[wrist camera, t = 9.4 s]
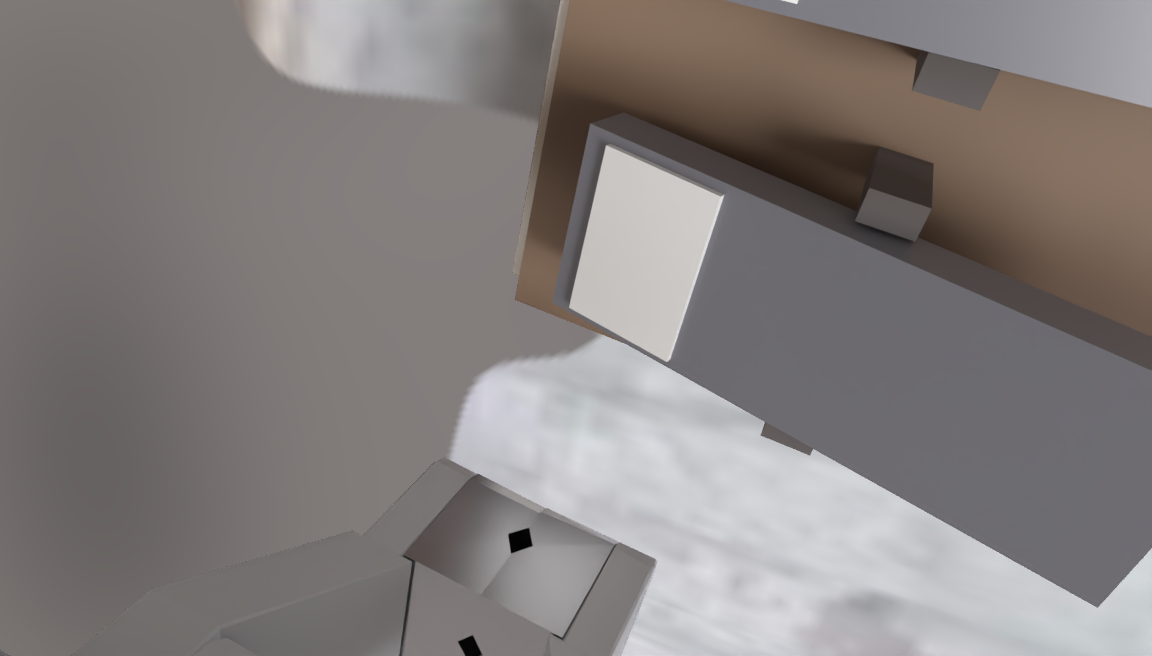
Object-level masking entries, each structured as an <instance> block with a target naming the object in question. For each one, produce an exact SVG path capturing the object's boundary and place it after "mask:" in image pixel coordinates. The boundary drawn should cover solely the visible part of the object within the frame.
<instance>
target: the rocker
mask: <svg viewBox="0 0 1152 656" xmlns="http://www.w3.org/2000/svg"><path fill="white" fill-rule="evenodd" d="M856 215H857V211H855V210H852V209H850V208H848V207H845V206H843V205H841V204H838V203H836V202H834V201H831V200H829V199H827V198H824V197H822V196H820V195H817V194H815V193H812V192H810V191H808V190H805V189H803V188H801V187H798V186H796V185H794V184H791V183H789V182H787V181H784V180H782V179H780V178H777V177H775V176H772V175H770V174H768V173H765V172H763V171H761V170H758V169H756V168H754V167H751V166H749V165H747V164H744V163H742V162H740V161H737V160H735V159H732V158H730V157H728V156H725V155H723V154H721V153H718V152H716V151H714V150H711V149H709V148H707V147H704V146H702V145H700V144H697V143H695V142H693V141H690V140H688V139H685V138H683V137H681V136H678V135H676V134H674V133H671V132H669V131H667V130H664V129H662V128H660V127H657V126H655V125H653V124H650V123H648V122H645V121H643V120H641V119H638V118H636V117H634V116H631V115H629V114H627V113H621V114H618V115H615V116H612V117H609V118H606V119H603V120H599V121H596V122H593V123H590V127H589V132H588V137H587V141H586V146H585V151H584V155H583V160H582V165H581V169H580V174H579V179H578V184H577V188H576V193H575V198H574V202H573V207H572V212H571V216H570V221H569V226H568V230H567V235H566V240H565V244H564V249H563V254H562V258H561V263H560V268H559V272H558V277H557V282H556V286H555V291H554V296H553V300H552V303H554V304H556V305H557V306H559V307H561V308H563V309H565V310H566V311H568V312H570V313H572V314H573V315H575V316H577V317H579V318H581V319H582V320H584V321H586V322H588V323H590V324H591V325H593V326H595V327H597V328H599V329H600V330H602V331H604V332H606V333H607V334H609V335H611V336H613V337H615V338H616V339H618V340H620V341H622V342H624V343H625V344H627V345H629V346H631V347H632V348H634V349H636V350H638V351H640V352H641V353H643V354H645V355H647V356H649V357H650V358H652V359H654V360H656V361H657V362H659V363H661V364H663V365H665V366H666V367H668V368H670V369H672V370H674V371H675V372H677V373H679V374H681V375H683V376H684V377H686V378H688V379H690V380H691V381H693V382H695V383H697V384H699V385H700V386H702V387H704V388H706V389H708V390H709V391H711V392H713V393H715V394H716V395H718V396H720V397H722V398H724V399H725V400H727V401H729V402H731V403H733V404H734V405H736V406H738V407H740V408H742V409H743V410H745V411H747V412H749V413H750V414H752V415H754V416H756V417H758V418H759V419H761V420H763V421H765V422H767V423H768V424H770V425H772V426H774V427H775V428H777V429H779V430H781V431H783V432H784V433H786V434H788V435H790V436H792V437H793V438H795V439H797V440H799V441H801V442H802V443H804V444H806V445H808V446H809V447H811V448H813V449H815V450H817V451H818V452H820V453H822V454H824V455H826V456H827V457H829V458H831V459H833V460H834V461H836V462H838V463H840V464H842V465H843V466H845V467H847V468H849V469H851V470H852V471H854V472H856V473H858V474H859V475H861V476H863V477H865V478H867V479H868V480H870V481H872V482H874V483H876V484H877V485H879V486H881V487H883V488H885V489H886V490H888V491H890V492H892V493H893V494H895V495H897V496H899V497H901V498H902V499H904V500H906V501H908V502H910V503H911V504H913V505H915V506H917V507H918V508H920V509H922V510H924V511H926V512H927V513H929V514H931V515H933V516H935V517H936V518H938V519H940V520H942V521H944V522H945V523H947V524H949V525H951V526H952V527H954V528H956V529H958V530H960V531H961V532H963V533H965V534H967V535H969V536H970V537H972V538H974V539H976V540H977V541H979V542H981V543H983V544H985V545H986V546H988V547H990V548H992V549H994V550H995V551H997V552H999V553H1001V554H1003V555H1004V556H1006V557H1008V558H1010V559H1011V560H1013V561H1015V562H1017V563H1019V564H1020V565H1022V566H1024V567H1026V568H1028V569H1029V570H1031V571H1033V572H1035V573H1036V574H1038V575H1040V576H1042V577H1044V578H1045V579H1047V580H1049V581H1051V582H1053V583H1054V584H1056V585H1058V586H1060V587H1061V588H1063V589H1065V590H1067V591H1069V592H1070V593H1072V594H1074V595H1076V596H1078V597H1079V598H1081V599H1083V600H1085V601H1087V602H1088V603H1090V604H1092V605H1094V606H1095V607H1097V608H1098V607H1099V606H1100V604H1101V603H1102V602H1103V601H1104V600H1105V599H1106V598H1107V597H1108V596H1109V595H1110V593H1111V592H1112V591H1113V590H1114V589H1115V588H1116V587H1117V586H1118V585H1119V584H1120V582H1121V581H1122V580H1123V579H1124V578H1125V577H1126V576H1127V575H1128V574H1129V572H1130V571H1131V570H1132V569H1133V568H1134V567H1135V566H1136V565H1137V564H1138V563H1139V561H1140V560H1141V559H1142V558H1143V557H1144V556H1145V555H1146V554H1147V553H1148V552H1149V550H1150V549H1151V548H1152V337H1151V336H1149V335H1146V334H1144V333H1142V332H1139V331H1137V330H1135V329H1132V328H1130V327H1128V326H1125V325H1123V324H1121V323H1118V322H1116V321H1113V320H1111V319H1109V318H1106V317H1104V316H1102V315H1099V314H1097V313H1095V312H1092V311H1090V310H1088V309H1085V308H1083V307H1081V306H1078V305H1076V304H1074V303H1071V302H1069V301H1066V300H1064V299H1062V298H1059V297H1057V296H1055V295H1052V294H1050V293H1048V292H1045V291H1043V290H1041V289H1038V288H1036V287H1034V286H1031V285H1029V284H1026V283H1024V282H1022V281H1019V280H1017V279H1015V278H1012V277H1010V276H1008V275H1005V274H1003V273H1001V272H998V271H996V270H994V269H991V268H989V267H986V266H984V265H982V264H979V263H977V262H975V261H972V260H970V259H968V258H965V257H963V256H961V255H958V254H956V253H954V252H951V251H949V250H947V249H944V248H942V247H939V246H937V245H935V244H932V243H930V242H928V241H925V240H923V239H921V238H917V240H916V242H915V241H912V240H909V239H906V238H903V237H900V236H897V235H894V234H891V233H889V232H886V231H883V230H880V229H877V228H874V227H871V226H868V225H865V224H862V223H859V222H856V221H855V219H856Z"/></svg>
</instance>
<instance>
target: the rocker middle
mask: <svg viewBox="0 0 1152 656" xmlns="http://www.w3.org/2000/svg"><path fill="white" fill-rule="evenodd" d="M725 1H729V2H733V3H737V4H741V5H745V6H749V7H753V8H757V9H761V10H765V11H769V12H773V13H777V14H781V15H785V16H789V17H793V18H797V19H801V20H805V21H809V22H813V23H817V24H821V25H825V26H829V27H832V28H836V29H840V30H844V31H848V32H852V33H856V34H860V35H864V36H868V37H872V38H876V39H880V40H884V41H888V42H892V43H896V44H900V45H904V46H908V47H912V48H916V49H920V50H924V51H928V52H932V53H936V54H940V55H944V56H948V57H952V58H956V59H960V60H964V61H968V62H972V63H976V64H980V65H984V66H988V67H992V68H995V69H999V70H1003V71H1007V72H1011V73H1015V74H1019V75H1023V76H1027V77H1031V78H1035V79H1039V80H1043V81H1047V82H1051V83H1055V84H1059V85H1063V86H1067V87H1071V88H1075V89H1079V90H1083V91H1087V92H1091V93H1095V94H1099V95H1103V96H1107V97H1111V98H1115V99H1119V100H1123V101H1127V102H1131V103H1135V104H1139V105H1143V106H1147V107H1151V108H1152V0H725Z"/></svg>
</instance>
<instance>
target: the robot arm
mask: <svg viewBox="0 0 1152 656" xmlns="http://www.w3.org/2000/svg"><path fill="white" fill-rule="evenodd" d="M656 564H657V561H656V559H654V558H652V557H650V556H648V555H645V554H643V553H641V552H639V551H637V550H635V549H633V548H631V547H628V546H626V545H624V544H622V543H620V542H618V541H616V540H614V539H612V538H609V537H607V536H605V535H603V534H601V533H599V532H597V531H595V530H592V529H590V528H588V527H586V526H584V525H582V524H580V523H577V522H575V521H573V520H571V519H569V518H567V517H565V516H563V515H560V514H558V513H556V512H554V511H552V510H550V509H548V508H547V509H546V508H544V507H542V506H540V505H538V504H536V503H534V502H532V501H530V500H528V499H526V498H524V497H522V496H520V495H519V494H517V493H515V492H513V491H511V490H509V489H507V488H505V487H503V486H501V485H499V484H497V483H495V482H493V481H491V480H489V479H487V478H485V477H483V476H482V475H480V474H476V473H474V472H472V471H470V470H468V469H466V468H464V467H462V466H460V465H459V464H457V463H455V462H453V461H451V460H449V459H447V458H445V457H444V458H442V459H440V460H438V461H436V462H434V463H433V464H432V465H431V466H430V467H429V468H428V469H427V470H426V471H425V472H424V473H423V474H422V475H421V476H420V477H419V478H418V479H417V480H416V481H415V482H414V483H413V484H412V485H411V486H410V487H409V488H408V489H407V490H406V491H405V492H404V493H403V494H402V496H400V498H399V499H398V500H397V501H396V502H395V503H394V504H393V505H392V506H391V507H390V508H389V509H388V510H387V511H386V512H385V513H384V514H383V515H382V516H381V517H380V518H379V519H378V520H377V521H376V522H375V523H374V524H373V525H372V526H371V527H370V528H369V529H368V530H367V532H365V533H364V534H363V535H361V534H359V533H357V532H355V531H349V532H345V533H342V534H339V535H335V536H332V537H328V538H325V539H321V540H318V541H314V542H311V543H307V544H304V545H301V546H297V547H294V548H290V549H287V550H284V551H280V552H277V553H273V554H270V555H266V556H263V557H259V558H256V559H252V560H249V561H245V562H242V563H239V564H235V565H232V566H228V567H225V568H221V569H218V570H214V571H211V572H208V573H204V574H201V575H197V576H194V577H190V578H187V579H183V580H180V581H177V582H174V583H170V584H167V585H163V586H159V587H156V588H153V589H151V590H150V591H149V592H148V593H146V594H145V595H144V596H143V597H141V598H140V599H139V600H138V601H137V602H135V603H134V604H133V605H132V606H131V607H129V608H128V609H127V610H126V611H124V612H123V613H122V614H121V615H119V616H118V617H117V618H116V619H115V620H113V621H112V622H111V623H110V624H109V625H107V626H106V627H105V628H104V629H103V630H101V631H100V632H99V633H98V634H96V635H95V636H94V637H93V638H92V639H90V640H89V641H88V642H87V643H86V644H84V645H83V646H82V647H81V648H80V649H78V650H77V651H76V652H75V653H74V654H72V655H71V656H621V654H622V652H623V649H624V647H625V645H626V642H627V640H628V637H629V635H630V632H631V630H632V627H633V625H634V622H635V620H636V617H637V614H638V612H639V609H640V607H641V604H642V601H643V599H644V596H645V594H646V591H647V588H648V586H649V583H650V581H651V578H652V575H653V573H654V570H655V567H656ZM0 656H9V655H8V654H6V653H4V652H3V651H1V650H0Z"/></svg>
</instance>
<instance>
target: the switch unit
mask: <svg viewBox="0 0 1152 656" xmlns="http://www.w3.org/2000/svg"><path fill="white" fill-rule="evenodd" d="M621 113H627V114H629V115H631V116H634V117H636V118H638V119H641V120H643V121H645V122H648V123H650V124H653V125H655V126H657V127H660V128H662V129H664V130H667V131H669V132H671V133H674V134H676V135H678V136H681V137H683V138H685V139H688V140H690V141H693V142H695V143H697V144H700V145H702V146H704V147H707V148H709V149H711V150H714V151H716V152H718V153H721V154H723V155H725V156H728V157H730V158H732V159H735V160H737V161H740V162H742V163H744V164H747V165H749V166H751V167H754V168H756V169H758V170H761V171H763V172H765V173H768V174H770V175H772V176H775V177H777V178H780V179H782V180H784V181H787V182H789V183H791V184H794V185H796V186H798V187H801V188H803V189H805V190H808V191H810V192H812V193H815V194H817V195H820V196H822V197H824V198H827V199H829V200H831V201H834V202H836V203H838V204H841V205H843V206H845V207H848V208H850V209H852V210H855V211H857V215H856V219H855V221H856V222H859V223H862V224H865V225H868V226H871V227H874V228H877V229H880V230H883V231H886V232H889V233H891V234H894V235H897V236H900V237H903V238H906V239H909V240H912V241H915V242H916V240H917V238H921V239H923V240H925V241H928V242H930V243H932V244H935V245H937V246H939V247H942V248H944V249H947V250H949V251H951V252H954V253H956V254H958V255H961V256H963V257H965V258H968V259H970V260H972V261H975V262H977V263H979V264H982V265H984V266H986V267H989V268H991V269H994V270H996V271H998V272H1001V273H1003V274H1005V275H1008V276H1010V277H1012V278H1015V279H1017V280H1019V281H1022V282H1024V283H1026V284H1029V285H1031V286H1034V287H1036V288H1038V289H1041V290H1043V291H1045V292H1048V293H1050V294H1052V295H1055V296H1057V297H1059V298H1062V299H1064V300H1066V301H1069V302H1071V303H1074V304H1076V305H1078V306H1081V307H1083V308H1085V309H1088V310H1090V311H1092V312H1095V313H1097V314H1099V315H1102V316H1104V317H1106V318H1109V319H1111V320H1113V321H1116V322H1118V323H1121V324H1123V325H1125V326H1128V327H1130V328H1132V329H1135V330H1137V331H1139V332H1142V333H1144V334H1146V335H1149V336H1151V337H1152V108H1151V107H1147V106H1143V105H1139V104H1135V103H1131V102H1127V101H1123V100H1119V99H1115V98H1111V97H1107V96H1103V95H1099V94H1095V93H1091V92H1087V91H1083V90H1079V89H1075V88H1071V87H1067V86H1063V85H1059V84H1055V83H1051V82H1047V81H1043V80H1039V79H1035V78H1031V77H1027V76H1023V75H1019V74H1015V73H1011V72H1007V71H1003V70H999V69H995V68H992V67H988V66H984V65H980V64H976V63H972V62H968V61H964V60H960V59H956V58H952V57H948V56H944V55H940V54H936V53H932V52H928V51H924V50H920V49H916V48H912V47H908V46H904V45H900V44H896V43H892V42H888V41H884V40H880V39H876V38H872V37H868V36H864V35H860V34H856V33H852V32H848V31H844V30H840V29H836V28H832V27H829V26H825V25H821V24H817V23H813V22H809V21H805V20H801V19H797V18H793V17H789V16H785V15H781V14H777V13H773V12H769V11H765V10H761V9H757V8H753V7H749V6H745V5H741V4H737V3H733V2H729V1H725V0H560V5H559V11H558V17H557V22H556V28H555V34H554V39H553V45H552V51H551V56H550V62H549V68H548V73H547V79H546V85H545V90H544V96H543V102H542V108H541V113H540V119H539V125H538V130H537V136H536V142H535V147H534V153H533V159H532V164H531V171H530V176H529V182H528V187H527V193H526V199H525V204H524V210H523V215H522V221H521V227H520V233H519V238H518V245H517V250H516V255H515V261H514V267H513V273H514V274H516V275H519V280H518V285H517V291H516V296H515V300H517V301H520V302H522V303H525V304H527V305H530V306H532V307H535V308H537V309H540V310H543V311H545V312H547V313H550V314H552V315H555V316H557V317H560V318H562V319H565V320H567V321H570V322H572V323H575V324H577V325H580V326H582V327H585V328H587V329H590V330H592V331H595V332H597V333H600V334H602V335H605V336H607V337H610V338H612V339H615V340H617V341H620V340H618V339H616V338H615V337H613V336H611V335H609V334H607V333H606V332H604V331H602V330H600V329H599V328H597V327H595V326H593V325H591V324H590V323H588V322H586V321H584V320H582V319H581V318H579V317H577V316H575V315H573V314H572V313H570V312H568V311H566V310H565V309H563V308H561V307H559V306H557V305H556V304H554V303H552V300H553V296H554V291H555V286H556V282H557V277H558V272H559V268H560V263H561V258H562V254H563V249H564V244H565V240H566V235H567V230H568V226H569V221H570V216H571V212H572V207H573V202H574V198H575V193H576V188H577V184H578V179H579V174H580V169H581V165H582V160H583V155H584V151H585V146H586V141H587V137H588V132H589V127H590V123H593V122H596V121H599V120H603V119H606V118H609V117H612V116H615V115H618V114H621ZM620 342H622V341H620ZM622 343H624V342H622ZM761 436H764V437H766V438H769V439H771V440H774V441H776V442H778V443H781V444H783V445H786V446H788V447H791V448H793V449H796V450H798V451H800V452H803V453H805V454H808V455H810V454H811V452H812V450H813V448H811V447H809V446H808V445H806V444H804V443H802V442H801V441H799V440H797V439H795V438H793V437H792V436H790V435H788V434H786V433H784V432H783V431H781V430H779V429H777V428H775V427H774V426H772V425H770V424H768V423H767V422H765V424H764V427H763V430H762V433H761Z"/></svg>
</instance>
